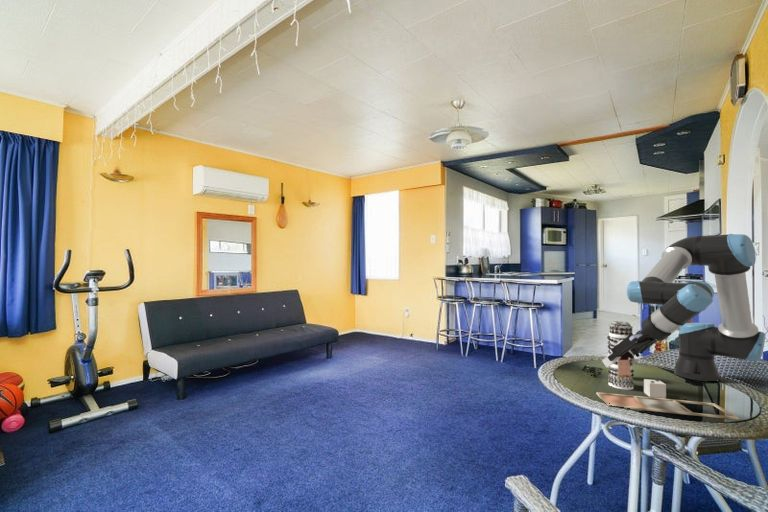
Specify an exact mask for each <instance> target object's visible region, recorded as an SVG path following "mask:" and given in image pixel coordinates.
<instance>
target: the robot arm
mask: <svg viewBox="0 0 768 512" xmlns="http://www.w3.org/2000/svg"><path fill="white" fill-rule="evenodd" d="M756 258H757V255H756V249H755V245H754V243H753V240H752V239H751V237H749V236H748V235H746V234H743V233H742V234H741V233H740V234H735V233H734V234H733V233H729V234H715V235H713V234H712V235H710V234H709V235H692V236H687V237H685V238H683V239H679V240H677V241H675V242H673V243H672V244H670V245H669V246H668V247H666V248H665V249H664V251H663V252H662V254H661V259H659V260H658V262H657V263H656V264H655V265H654V266H653V267H652V268H651V270H650V271H648V273H647V274H646V276H645V277H644V278H643V279H642V280H641V281H639V280H637V281H636V280H633V281H632V280H631V281H630V282H629V283H628V284H627V288H626V295H627V298H628V300H629V302H632V303H637V304H640V305H641V304H642V305H643V304H645V305H646V304H648V305H660V306H659V308H657V309H656V310H655V311H654V312H652V313H651V314H650V315H649V316H648V317H646V318H645V319H644V320H643V321H642V322H641V328H642V330H641V329H640V330H638V331H636V333H635V334H634V333H633V332H632V333H631V334H629V335H628V336H627V338H625V339H624V340H623V341H621V342H620V343H619V344H618V345H616V346H615V347H614V348H612V349H611V351H612V353H611V354H609V355H608V354H607V356H606V357H604V358H603V359H602V360H601V362H602V363H603V364H604V366H605V367H606V368H607V369H609V368H608V367H610V366H611V365H612V364H613V363H615V362H616V361H617V362H618V359H620V358H621V357H620V356H622V355H623V354H625V353H627V352H628V351H629V352H630V353H631V354H632V355H633V356H634V357H637V358H639V357H641V355H642V354H643V353H644V352H645V351H647V350H648V349H649V348H651V347H652V346H653V345H654V344H655V343H657V342H658V341H664V340H667V338H668V337H670V336H671V335H672V334H673V333H675V332H676V331H678V358H677V360H676V363H675V366H674V367H673V374H674V375H676V376H678V377H681V378H684V379H689V380H693V381H700V382H708V381H717V380H719V379H720V380H721V374H720V372H719V370H718V367H717V364H716V362H715V356H719V357H724V358H731V359H738V360H744V361H753V362H759V361H760V360H761V359H762V357H763V353H764V349H765V348H764V347H765V342H766V341H765V340H766V334H765V332H763V331H759V328H758V326H757V325H756V324H754V323H753V322H752V313H751V305H750V298H749V291H748V290H749V289H748V283H747V275H746V274H747V272H749V271H750V270H751V267H752V266H754V265H755V264H756V260H757V259H756ZM691 266H706V267H707V268H708V271H709V272H710V273H711V274H713V275H714V280H715V286H716V291H717V299H718V305H719V311H720V318H721V323H719V324H718V326H717V327H716V326H715V324H714V323H712V322H689V321H691V320H692V319H693V318H695V317H697V315H699V314H701V312H704V311H705V310H707V308H708V307H709V306H710V305H712V303H713V302H714V299H713V298H714V297H715V291H714V288H713V286H712V285H710V284H709V283H708V282H706V281H702V280H692V281H690V282H686V283H685V282H684V283H683V282H674V281H675V280H676V279H677V277H678V276H679V275H680V273H681V272H682V271H683V270H684V269H686V268H689V267H691ZM640 354H641V355H640ZM630 359H631V358H629V360H630ZM717 382H718V381H717Z"/></svg>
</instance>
